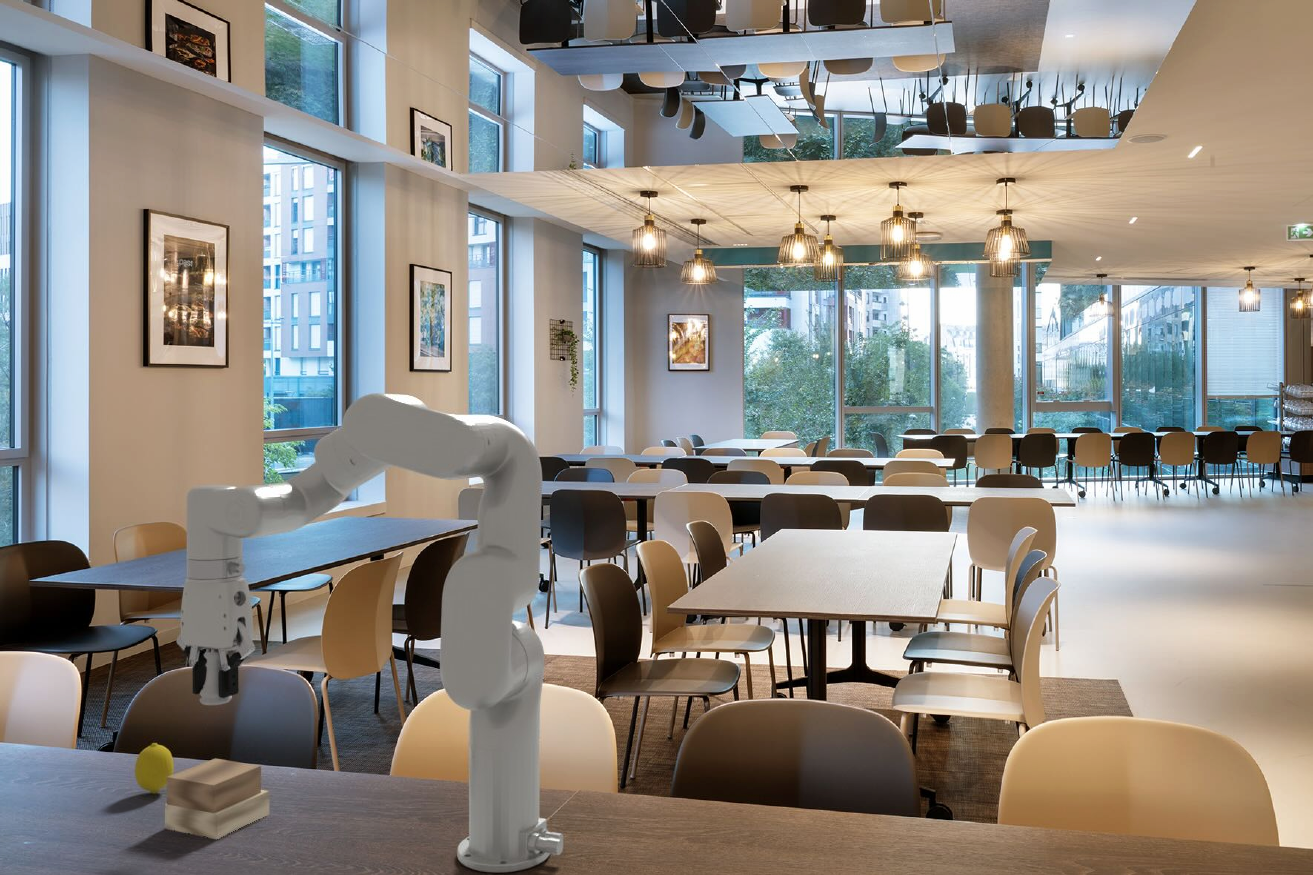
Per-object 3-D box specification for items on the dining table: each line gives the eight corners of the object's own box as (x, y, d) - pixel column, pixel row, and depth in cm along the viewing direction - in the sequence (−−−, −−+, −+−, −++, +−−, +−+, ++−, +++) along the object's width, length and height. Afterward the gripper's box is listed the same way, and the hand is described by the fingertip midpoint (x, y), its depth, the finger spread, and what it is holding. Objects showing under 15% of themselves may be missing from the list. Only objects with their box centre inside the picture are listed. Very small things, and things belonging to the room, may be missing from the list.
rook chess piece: (237, 698, 154) (237, 644, 154) (222, 706, 150) (222, 651, 150) (209, 697, 155) (209, 643, 154) (193, 705, 150) (192, 650, 150)
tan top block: (261, 792, 155) (260, 765, 155) (214, 813, 146) (213, 785, 146) (215, 784, 158) (215, 758, 158) (166, 804, 150) (166, 776, 150)
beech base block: (269, 817, 155) (269, 791, 155) (217, 842, 146) (217, 814, 146) (219, 808, 159) (218, 782, 159) (165, 831, 150) (165, 804, 150)
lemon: (135, 790, 165) (135, 740, 165) (173, 785, 168) (173, 736, 167) (134, 802, 160) (134, 750, 160) (173, 796, 163) (173, 745, 162)
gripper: (278, 569, 152) (278, 693, 152) (192, 563, 159) (193, 682, 159) (239, 576, 145) (239, 706, 145) (151, 569, 152) (152, 694, 152)
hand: (215, 692), depth 152 cm, fingers closed on rook chess piece, 4 cm apart
